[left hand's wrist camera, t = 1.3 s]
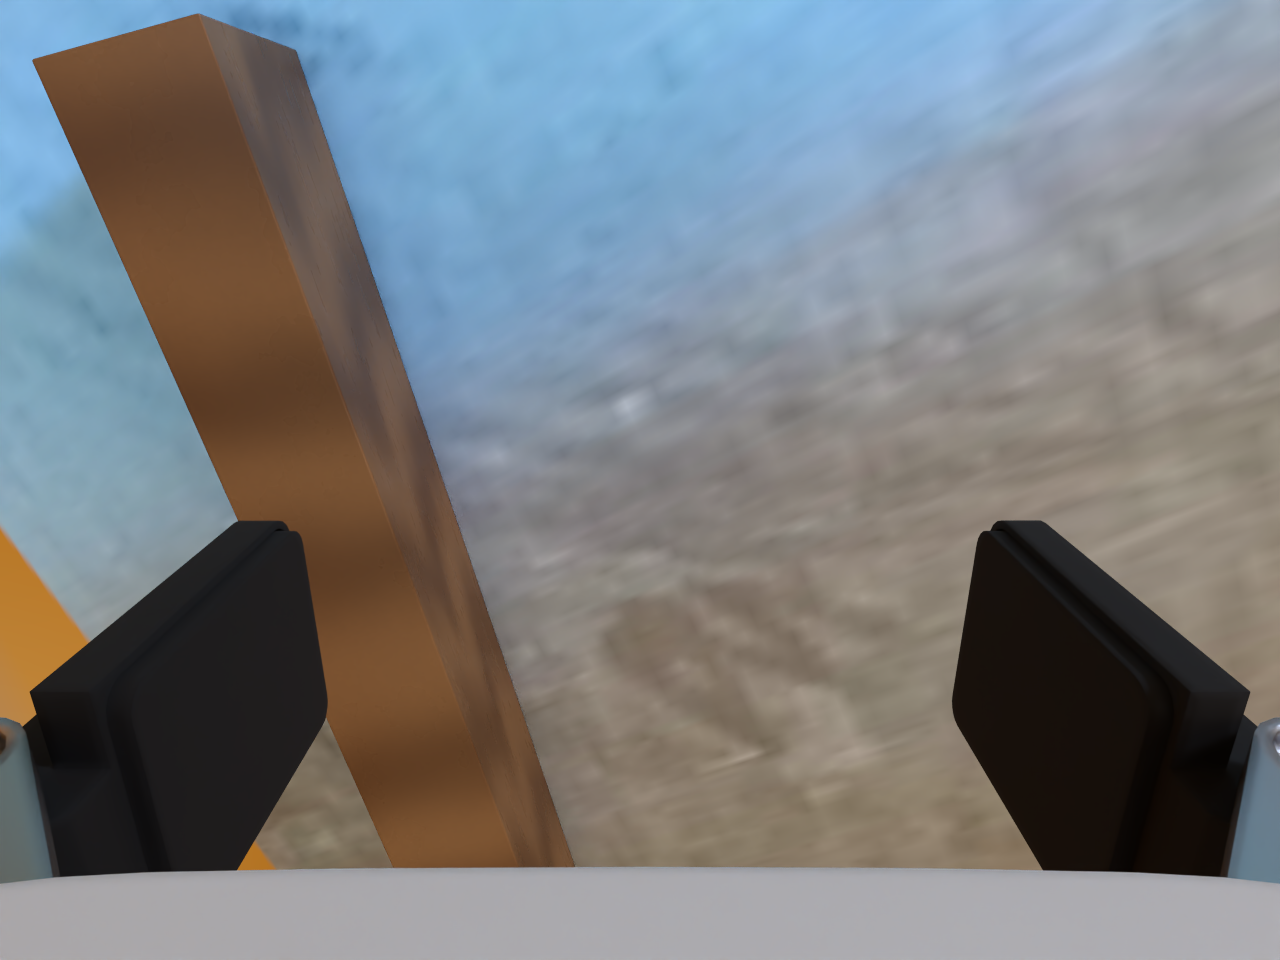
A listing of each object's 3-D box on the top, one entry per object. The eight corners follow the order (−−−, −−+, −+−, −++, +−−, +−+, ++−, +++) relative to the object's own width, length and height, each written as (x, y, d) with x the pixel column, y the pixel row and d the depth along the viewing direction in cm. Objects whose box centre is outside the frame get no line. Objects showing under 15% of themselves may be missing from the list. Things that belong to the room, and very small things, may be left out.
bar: (162, 85, 28) (30, 59, 22) (296, 49, 28) (198, 12, 21) (544, 1040, 45) (529, 1173, 39) (629, 1026, 45) (628, 1159, 39)
